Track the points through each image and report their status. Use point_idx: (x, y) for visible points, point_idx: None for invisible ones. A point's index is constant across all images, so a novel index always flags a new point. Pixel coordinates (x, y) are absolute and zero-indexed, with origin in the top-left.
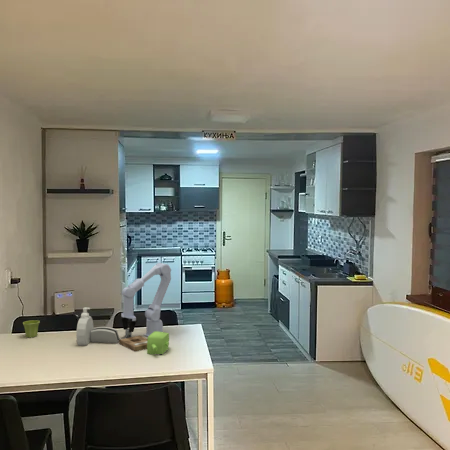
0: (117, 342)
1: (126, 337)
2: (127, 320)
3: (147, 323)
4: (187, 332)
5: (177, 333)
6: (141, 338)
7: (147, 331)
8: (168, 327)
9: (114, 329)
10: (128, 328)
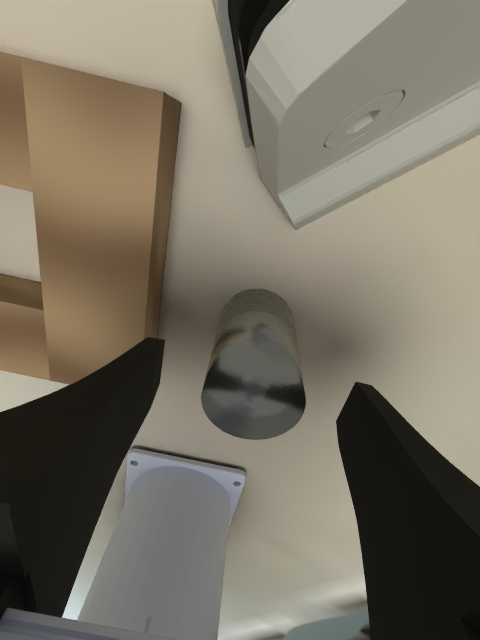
0: (238, 116)
1: (251, 300)
2: (377, 582)
3: (148, 603)
4: (71, 593)
5: (92, 567)
6: (11, 335)
7: (174, 500)
8: (246, 614)
9: (314, 16)
10: (277, 418)
